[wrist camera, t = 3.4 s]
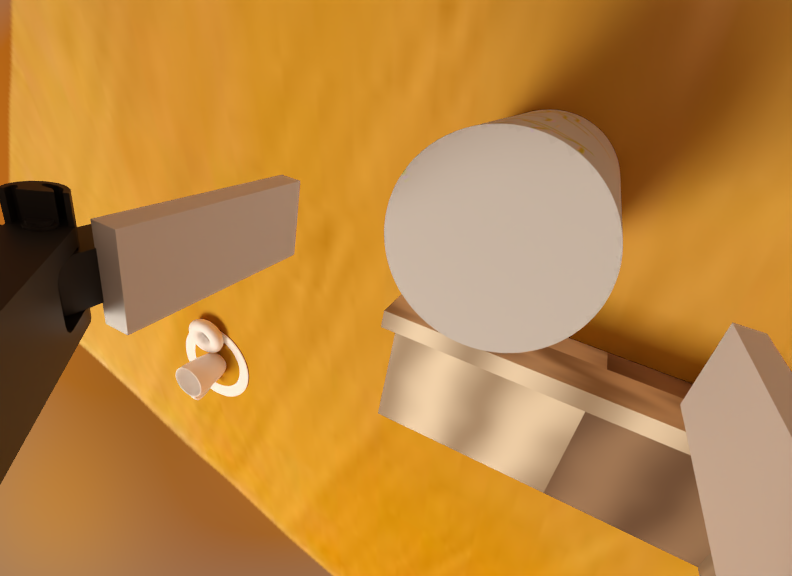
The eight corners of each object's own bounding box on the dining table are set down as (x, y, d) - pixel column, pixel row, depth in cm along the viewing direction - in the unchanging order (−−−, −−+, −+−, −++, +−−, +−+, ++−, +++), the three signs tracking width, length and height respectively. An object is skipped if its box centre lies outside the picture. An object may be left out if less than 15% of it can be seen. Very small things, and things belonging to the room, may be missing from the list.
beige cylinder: (617, 93, 22) (616, 96, 12) (623, 249, 25) (627, 357, 15) (461, 126, 26) (363, 149, 16) (480, 258, 28) (406, 349, 18)
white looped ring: (201, 302, 42) (165, 320, 39) (264, 354, 41) (232, 377, 38) (183, 359, 47) (149, 380, 44) (239, 407, 46) (209, 432, 43)
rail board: (389, 398, 36) (359, 438, 32) (415, 280, 31) (384, 310, 27) (713, 549, 29) (729, 625, 25) (817, 430, 24) (859, 501, 20)
